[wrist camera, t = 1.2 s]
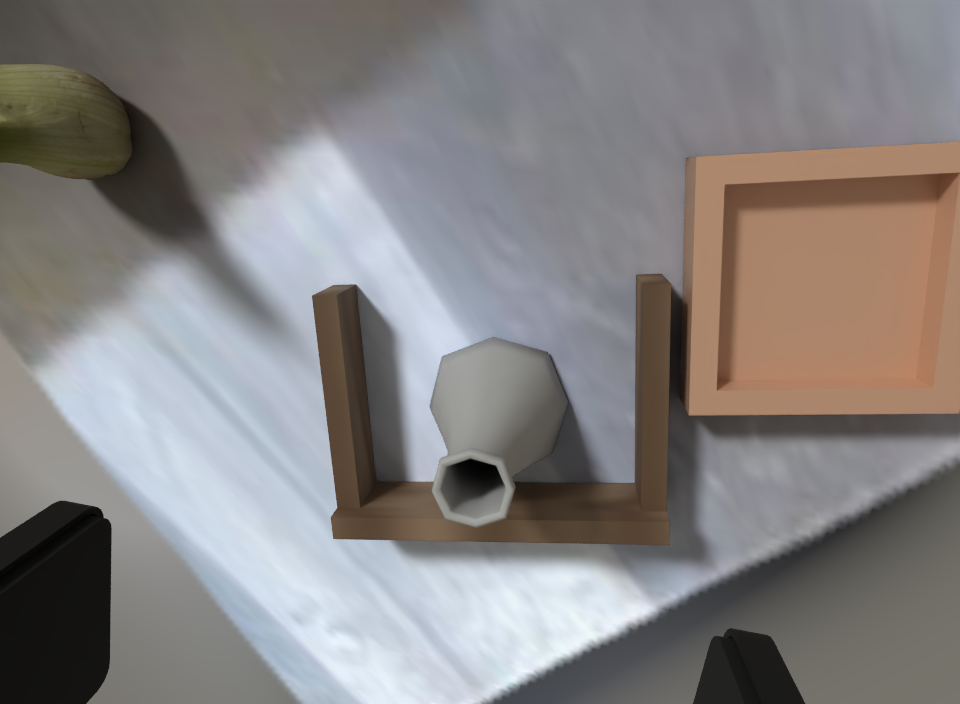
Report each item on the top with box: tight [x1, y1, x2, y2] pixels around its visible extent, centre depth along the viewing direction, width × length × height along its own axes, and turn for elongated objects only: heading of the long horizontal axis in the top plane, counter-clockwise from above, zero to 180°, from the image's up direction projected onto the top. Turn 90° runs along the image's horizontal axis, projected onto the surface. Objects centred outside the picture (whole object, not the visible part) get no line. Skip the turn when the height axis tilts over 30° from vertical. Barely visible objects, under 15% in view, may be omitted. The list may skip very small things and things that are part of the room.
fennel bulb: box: [0, 64, 132, 180], centre depth 28 cm, size 6×5×12 cm
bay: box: [312, 274, 671, 545], centre depth 33 cm, size 16×12×4 cm
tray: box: [680, 142, 960, 415], centre depth 30 cm, size 12×12×2 cm
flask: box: [430, 337, 568, 528], centre depth 30 cm, size 7×7×10 cm
